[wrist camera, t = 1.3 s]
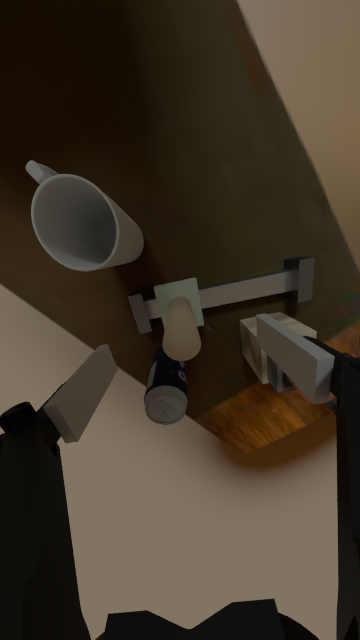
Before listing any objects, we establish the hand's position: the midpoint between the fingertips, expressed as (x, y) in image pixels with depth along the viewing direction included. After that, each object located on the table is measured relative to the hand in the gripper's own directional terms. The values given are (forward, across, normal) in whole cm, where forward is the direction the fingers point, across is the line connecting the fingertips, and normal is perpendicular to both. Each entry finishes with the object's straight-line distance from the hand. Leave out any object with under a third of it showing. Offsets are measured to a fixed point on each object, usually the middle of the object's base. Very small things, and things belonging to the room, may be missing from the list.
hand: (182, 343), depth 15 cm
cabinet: (+14, +13, -8) cm, 21 cm away
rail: (+14, +6, 0) cm, 15 cm away
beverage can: (+14, -4, -10) cm, 18 cm away
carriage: (+14, 0, 0) cm, 14 cm away
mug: (+14, -7, +12) cm, 20 cm away
